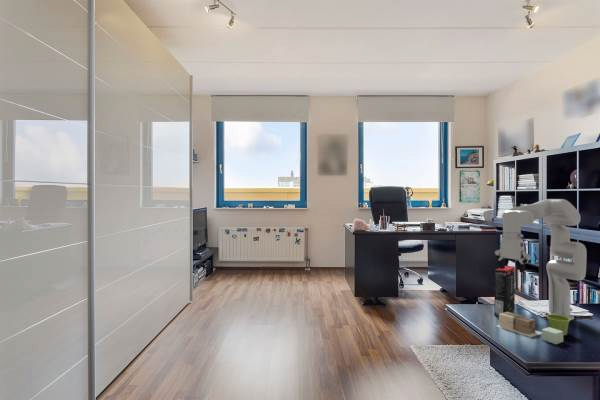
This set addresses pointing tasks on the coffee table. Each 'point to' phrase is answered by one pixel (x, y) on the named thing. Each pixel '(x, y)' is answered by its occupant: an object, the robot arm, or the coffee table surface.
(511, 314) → the maple base
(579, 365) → the coffee table surface
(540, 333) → the board
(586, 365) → the coffee table surface
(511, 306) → the graphics card box
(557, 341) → the sage block
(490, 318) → the coffee table surface
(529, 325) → the walnut cube
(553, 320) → the plant pot
